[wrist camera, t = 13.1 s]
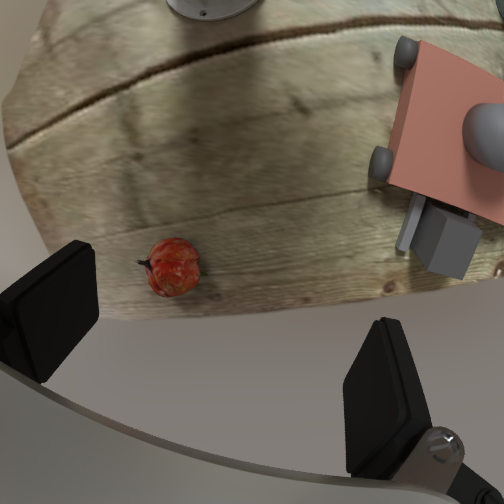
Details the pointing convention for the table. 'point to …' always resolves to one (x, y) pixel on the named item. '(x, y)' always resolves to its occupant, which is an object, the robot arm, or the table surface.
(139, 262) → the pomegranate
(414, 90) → the toy tractor cart
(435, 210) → the dark grey rounded cube
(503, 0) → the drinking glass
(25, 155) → the table surface
